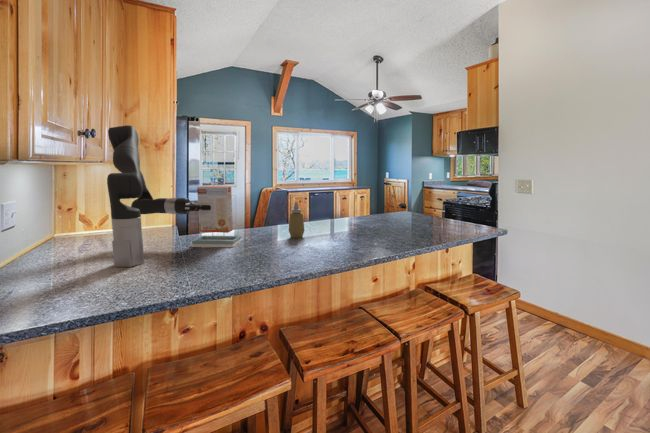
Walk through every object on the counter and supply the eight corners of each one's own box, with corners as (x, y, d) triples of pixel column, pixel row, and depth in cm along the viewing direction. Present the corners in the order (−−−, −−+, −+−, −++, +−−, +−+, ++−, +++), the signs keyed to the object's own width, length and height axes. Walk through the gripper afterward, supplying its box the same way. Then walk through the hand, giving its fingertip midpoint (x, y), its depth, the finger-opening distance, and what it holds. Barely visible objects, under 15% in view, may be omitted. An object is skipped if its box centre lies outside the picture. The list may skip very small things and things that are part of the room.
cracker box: (233, 230, 159) (231, 186, 156) (228, 233, 153) (226, 187, 150) (204, 229, 160) (202, 185, 157) (198, 232, 154) (196, 186, 151)
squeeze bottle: (303, 238, 167) (303, 202, 164) (287, 238, 167) (287, 202, 165) (305, 235, 175) (304, 201, 172) (289, 235, 175) (289, 201, 173)
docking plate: (233, 247, 150) (233, 241, 149) (189, 246, 151) (189, 241, 150) (242, 240, 164) (242, 235, 163) (202, 240, 165) (202, 235, 164)
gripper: (169, 199, 148) (206, 200, 147) (184, 196, 162) (218, 197, 161) (170, 216, 149) (207, 217, 148) (185, 211, 163) (219, 212, 163)
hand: (213, 206), depth 155 cm, fingers closed on cracker box, 6 cm apart
